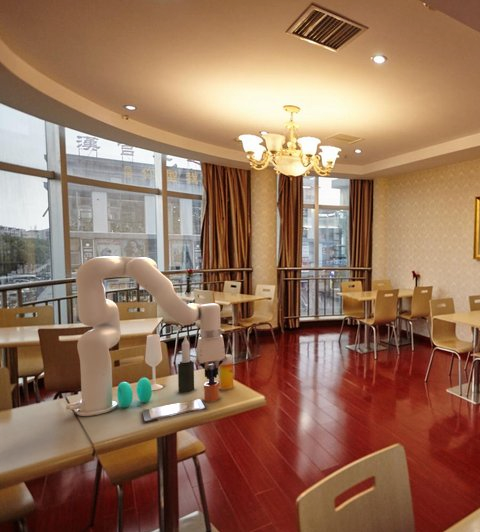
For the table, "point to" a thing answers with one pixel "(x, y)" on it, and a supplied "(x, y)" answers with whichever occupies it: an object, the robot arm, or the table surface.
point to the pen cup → (211, 391)
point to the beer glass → (226, 373)
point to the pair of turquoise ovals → (126, 394)
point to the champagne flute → (153, 356)
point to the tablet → (172, 410)
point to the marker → (211, 374)
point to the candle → (185, 370)
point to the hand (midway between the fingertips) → (211, 377)
